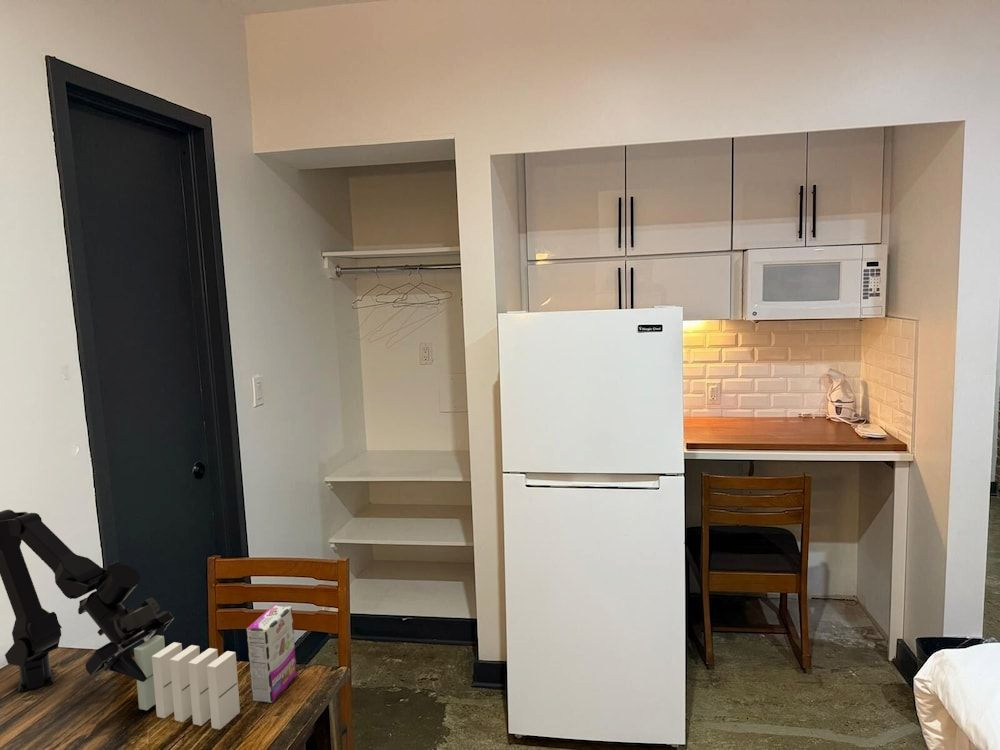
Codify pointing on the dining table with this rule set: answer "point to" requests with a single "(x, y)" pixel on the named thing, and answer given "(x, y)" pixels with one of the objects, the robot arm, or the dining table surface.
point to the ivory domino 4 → (223, 689)
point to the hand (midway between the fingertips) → (156, 672)
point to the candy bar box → (271, 653)
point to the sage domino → (147, 670)
